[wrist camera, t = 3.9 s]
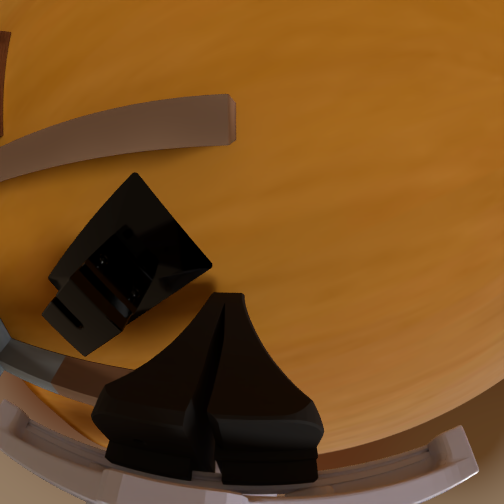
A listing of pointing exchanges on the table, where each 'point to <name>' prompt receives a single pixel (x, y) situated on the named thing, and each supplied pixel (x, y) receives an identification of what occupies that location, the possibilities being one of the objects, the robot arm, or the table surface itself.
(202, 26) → the table surface
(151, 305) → the black holder block
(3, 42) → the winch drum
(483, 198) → the table surface
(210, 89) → the table surface
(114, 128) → the bay
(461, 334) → the table surface
